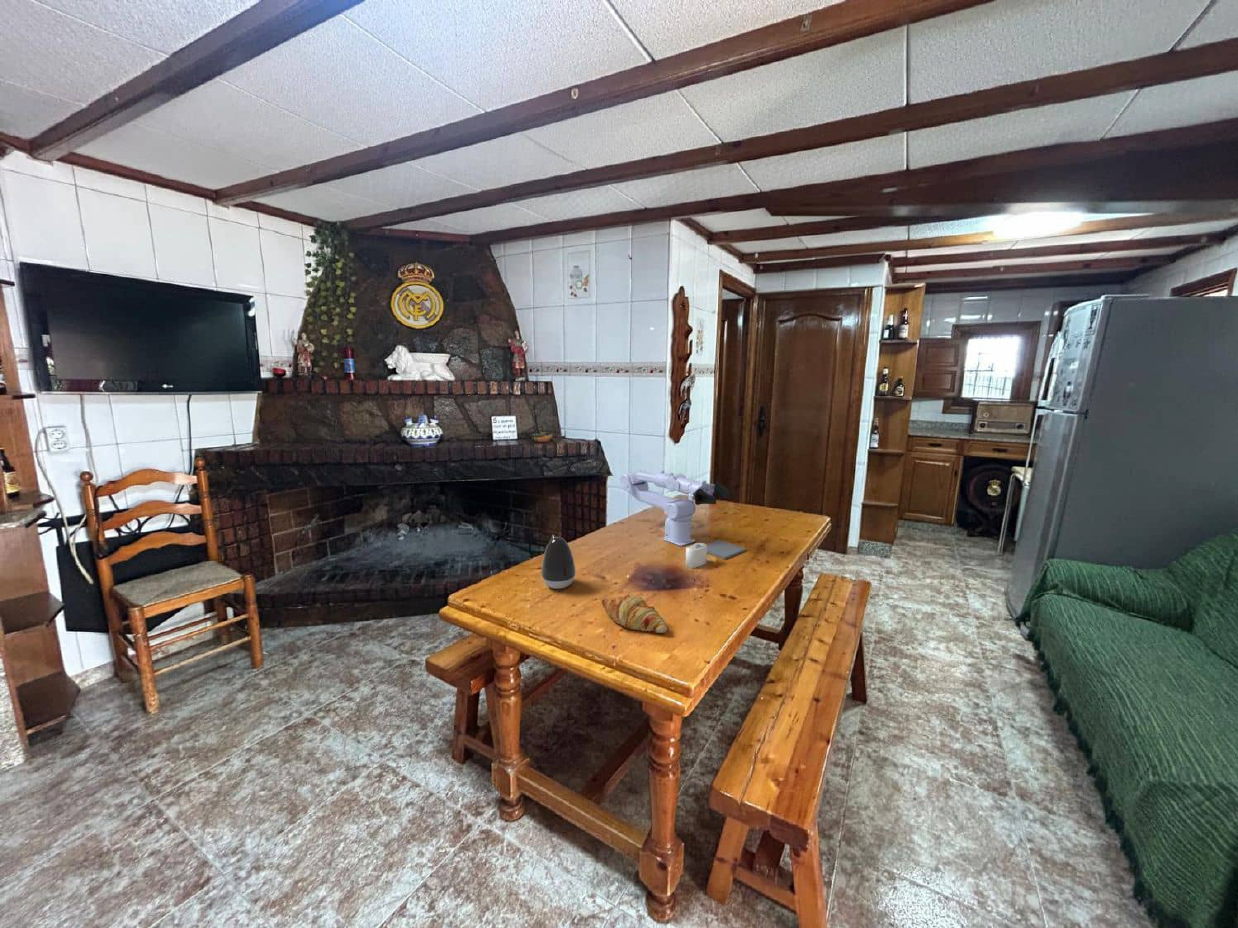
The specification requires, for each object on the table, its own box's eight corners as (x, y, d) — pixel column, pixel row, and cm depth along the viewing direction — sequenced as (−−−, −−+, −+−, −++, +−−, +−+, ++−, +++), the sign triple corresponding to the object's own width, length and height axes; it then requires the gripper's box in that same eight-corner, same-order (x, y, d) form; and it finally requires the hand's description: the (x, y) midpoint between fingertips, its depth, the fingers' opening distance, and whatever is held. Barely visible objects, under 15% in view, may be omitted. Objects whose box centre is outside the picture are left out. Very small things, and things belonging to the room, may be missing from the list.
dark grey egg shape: (570, 575, 158) (569, 529, 155) (580, 589, 148) (578, 540, 145) (538, 581, 154) (536, 534, 151) (546, 595, 145) (544, 545, 142)
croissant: (672, 643, 126) (681, 611, 127) (652, 641, 118) (661, 608, 119) (608, 615, 139) (617, 587, 140) (586, 612, 131) (596, 582, 133)
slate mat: (697, 549, 178) (697, 547, 178) (719, 541, 186) (719, 539, 186) (724, 559, 169) (724, 557, 169) (746, 550, 177) (746, 548, 177)
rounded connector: (683, 565, 165) (683, 545, 163) (700, 559, 170) (701, 539, 169) (691, 569, 162) (692, 548, 160) (708, 562, 167) (709, 542, 166)
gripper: (678, 482, 173) (708, 492, 162) (707, 473, 181) (737, 481, 170) (679, 501, 175) (708, 512, 164) (707, 491, 183) (737, 501, 172)
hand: (723, 498), depth 167 cm, fingers open, 7 cm apart
